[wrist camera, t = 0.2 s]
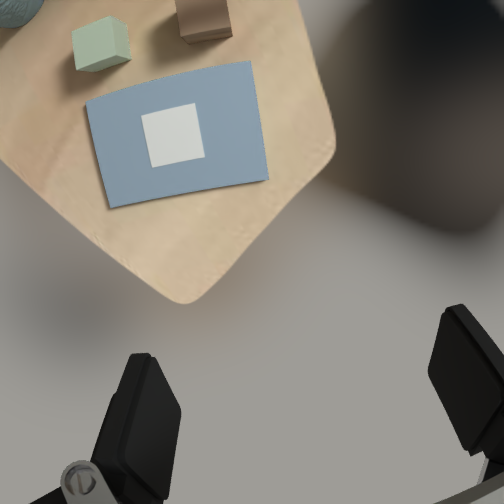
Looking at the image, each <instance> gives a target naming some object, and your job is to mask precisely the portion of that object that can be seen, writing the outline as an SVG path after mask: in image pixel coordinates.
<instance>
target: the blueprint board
mask: <svg viewBox="0 0 504 504" xmlns="http://www.w3.org/2000/svg"><path fill="white" fill-rule="evenodd" d="M86 108H87V113H88V118H89V123H90V128H91V132H92V137H93V141H94V146H95V150H96V154H97V159H98V163H99V167H100V171H101V175H102V179H103V182H104V186H105V190H106V193H107V197H108V201H109V204H110V208H113V207H117V206H122V205H127V204H131V203H136V202H141V201H146V200H151V199H156V198H161V197H166V196H171V195H177V194H182V193H188V192H193V191H199V190H205V189H211V188H217V187H223V186H229V185H235V184H242V183H248V182H255V181H262V180H269V176H268V169H267V162H266V155H265V148H264V141H263V135H262V128H261V122H260V115H259V109H258V102H257V96H256V90H255V84H254V77H253V71H252V65H251V61H244V62H237V63H231V64H225V65H219V66H214V67H209V68H204V69H199V70H194V71H189V72H185V73H180V74H176V75H172V76H168V77H164V78H160V79H156V80H152V81H149V82H145V83H141V84H138V85H135V86H131V87H128V88H125V89H121V90H118V91H115V92H112V93H109V94H106V95H103V96H100V97H97V98H95V99H92V100H89V101H86Z"/></svg>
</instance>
